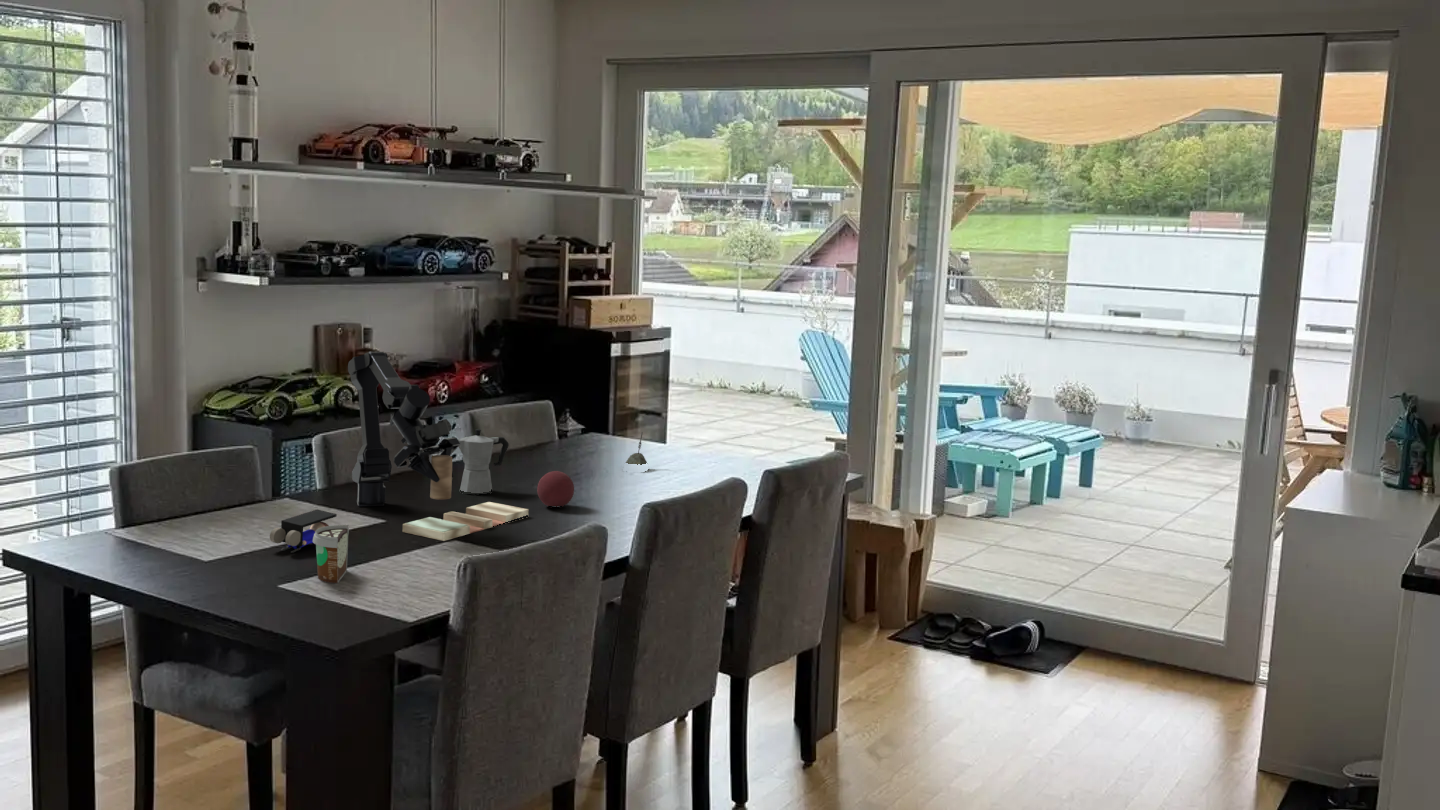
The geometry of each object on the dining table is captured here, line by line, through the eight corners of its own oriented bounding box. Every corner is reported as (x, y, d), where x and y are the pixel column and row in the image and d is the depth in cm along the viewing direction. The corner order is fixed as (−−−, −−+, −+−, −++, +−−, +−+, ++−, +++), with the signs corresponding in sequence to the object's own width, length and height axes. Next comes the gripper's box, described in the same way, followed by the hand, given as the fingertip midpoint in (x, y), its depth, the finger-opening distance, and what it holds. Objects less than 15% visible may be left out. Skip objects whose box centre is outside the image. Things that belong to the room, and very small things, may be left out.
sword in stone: (640, 474, 399) (642, 437, 398) (618, 471, 402) (620, 434, 401) (654, 469, 409) (656, 433, 407) (632, 466, 411) (633, 430, 410)
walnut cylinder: (431, 499, 310) (432, 459, 308) (428, 495, 314) (430, 455, 313) (452, 499, 311) (453, 459, 310) (449, 494, 316) (450, 455, 314)
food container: (319, 568, 277) (319, 523, 276) (348, 569, 278) (349, 524, 276) (305, 584, 265) (306, 537, 264) (336, 585, 266) (336, 538, 264)
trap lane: (488, 509, 341) (489, 501, 340) (528, 516, 335) (528, 508, 334) (402, 532, 312) (402, 523, 311) (443, 540, 306) (444, 532, 305)
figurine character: (293, 562, 286) (339, 541, 299) (290, 530, 284) (337, 510, 297) (269, 557, 288) (317, 536, 302) (267, 525, 286) (314, 506, 300)
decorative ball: (558, 501, 354) (559, 466, 353) (580, 509, 347) (582, 472, 346) (529, 505, 347) (530, 469, 346) (551, 513, 340) (552, 476, 339)
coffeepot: (456, 496, 354) (458, 432, 351) (449, 488, 362) (451, 426, 360) (510, 494, 360) (513, 431, 357) (502, 487, 368) (505, 426, 366)
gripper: (404, 413, 303) (438, 465, 300) (455, 405, 320) (489, 454, 316) (378, 441, 308) (412, 493, 305) (430, 432, 324) (463, 481, 321)
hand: (445, 479), depth 311 cm, fingers closed on walnut cylinder, 5 cm apart
